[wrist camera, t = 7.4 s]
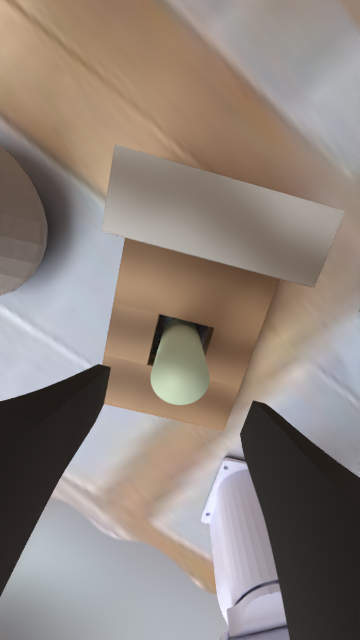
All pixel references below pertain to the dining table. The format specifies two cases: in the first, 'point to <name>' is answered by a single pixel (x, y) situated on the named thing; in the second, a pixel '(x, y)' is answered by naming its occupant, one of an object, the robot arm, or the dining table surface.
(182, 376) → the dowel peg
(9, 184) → the coffee pot
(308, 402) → the dining table surface
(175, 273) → the socket board
